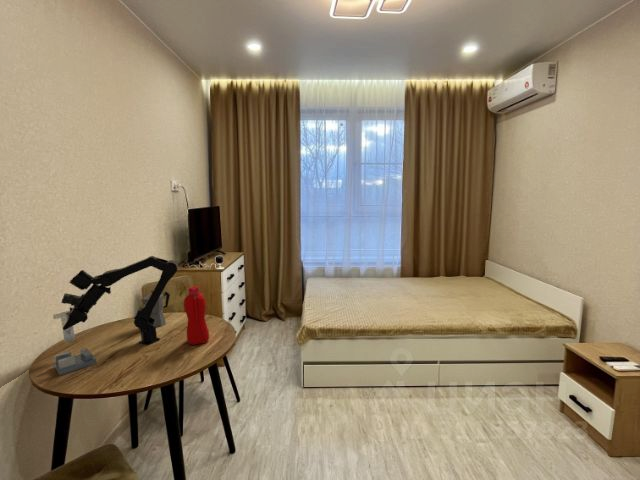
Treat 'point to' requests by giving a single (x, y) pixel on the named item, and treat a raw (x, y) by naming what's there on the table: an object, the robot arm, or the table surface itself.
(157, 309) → the coffeepot
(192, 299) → the water bottle
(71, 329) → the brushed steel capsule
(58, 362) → the vise
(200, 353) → the table surface
